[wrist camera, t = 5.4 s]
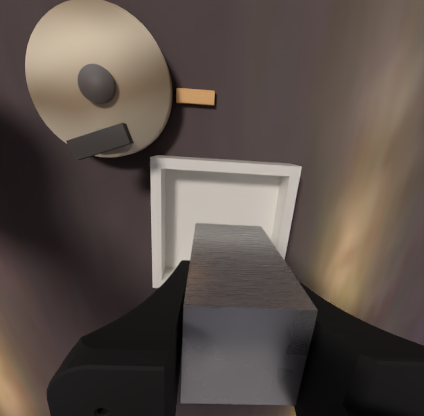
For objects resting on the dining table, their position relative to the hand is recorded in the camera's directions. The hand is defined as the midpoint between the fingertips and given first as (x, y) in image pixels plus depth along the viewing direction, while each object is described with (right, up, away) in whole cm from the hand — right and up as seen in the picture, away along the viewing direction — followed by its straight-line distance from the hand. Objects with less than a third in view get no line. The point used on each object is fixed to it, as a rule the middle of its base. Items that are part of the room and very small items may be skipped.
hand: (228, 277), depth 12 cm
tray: (0, +3, +9) cm, 9 cm away
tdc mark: (-2, +13, +5) cm, 14 cm away
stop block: (0, +1, +2) cm, 2 cm away
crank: (-9, +13, +5) cm, 17 cm away
